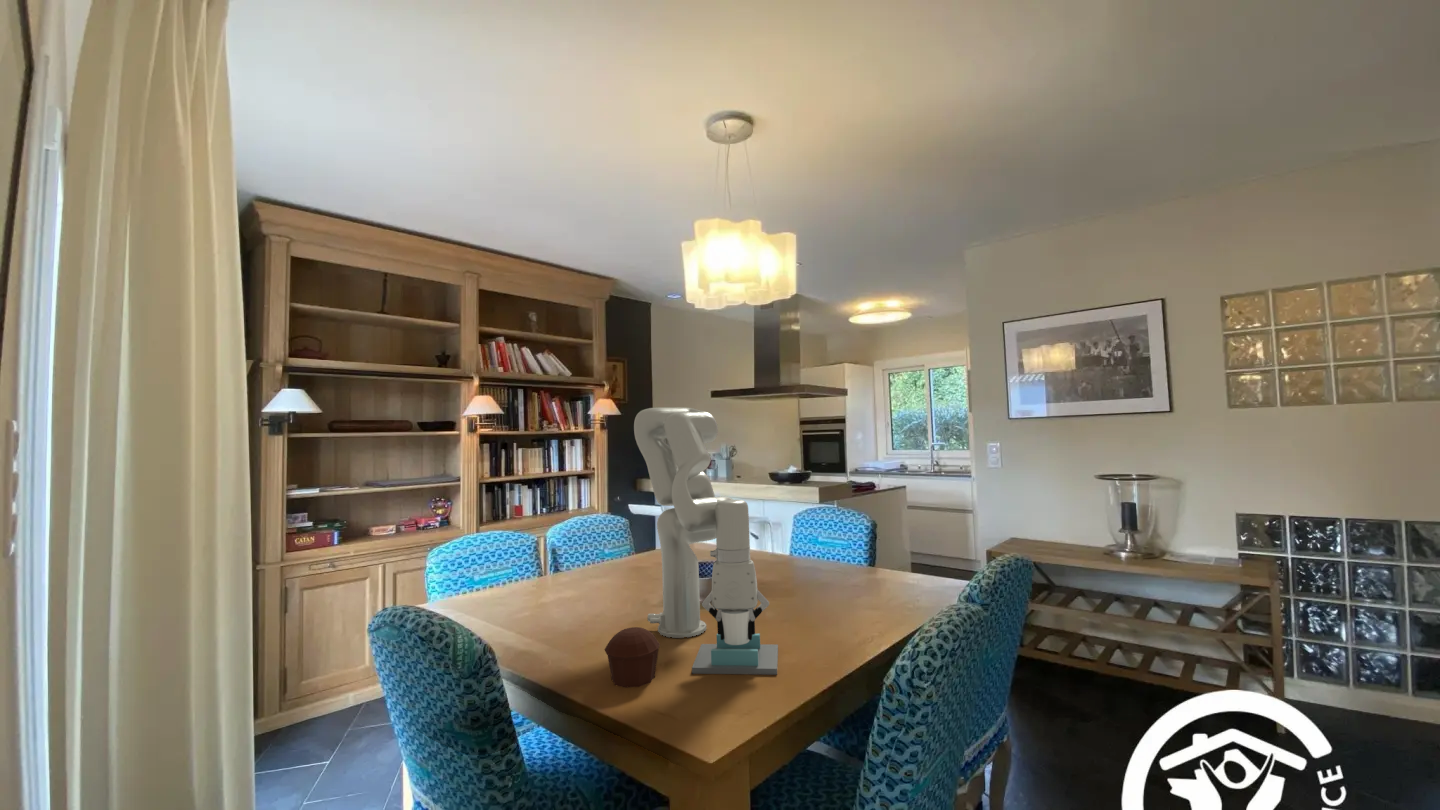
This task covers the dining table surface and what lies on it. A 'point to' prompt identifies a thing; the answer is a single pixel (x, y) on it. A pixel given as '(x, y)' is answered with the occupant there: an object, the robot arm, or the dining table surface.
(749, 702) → the dining table surface
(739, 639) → the white cylinder
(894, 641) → the dining table surface
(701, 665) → the clip holder
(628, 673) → the muffin
